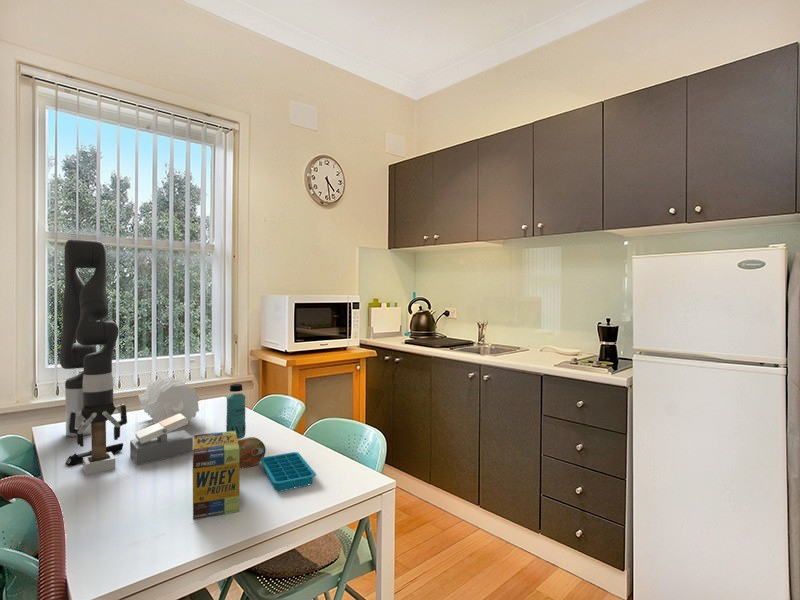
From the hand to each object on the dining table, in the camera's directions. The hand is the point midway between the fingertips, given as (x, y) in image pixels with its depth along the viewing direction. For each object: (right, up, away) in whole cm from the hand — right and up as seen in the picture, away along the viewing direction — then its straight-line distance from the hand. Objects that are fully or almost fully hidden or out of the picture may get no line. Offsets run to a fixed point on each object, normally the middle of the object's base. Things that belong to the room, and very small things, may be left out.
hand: (98, 442), depth 133 cm
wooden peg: (0, -8, 0) cm, 8 cm away
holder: (0, -8, 0) cm, 8 cm away
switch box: (+13, -7, +12) cm, 19 cm away
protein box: (+43, -9, -20) cm, 48 cm away
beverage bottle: (+32, -7, +24) cm, 41 cm away
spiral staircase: (-2, -7, +45) cm, 46 cm away
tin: (+41, -8, +2) cm, 42 cm away
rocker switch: (+13, +1, +11) cm, 17 cm away
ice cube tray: (+57, -9, -4) cm, 58 cm away
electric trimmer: (-7, -8, +8) cm, 13 cm away
